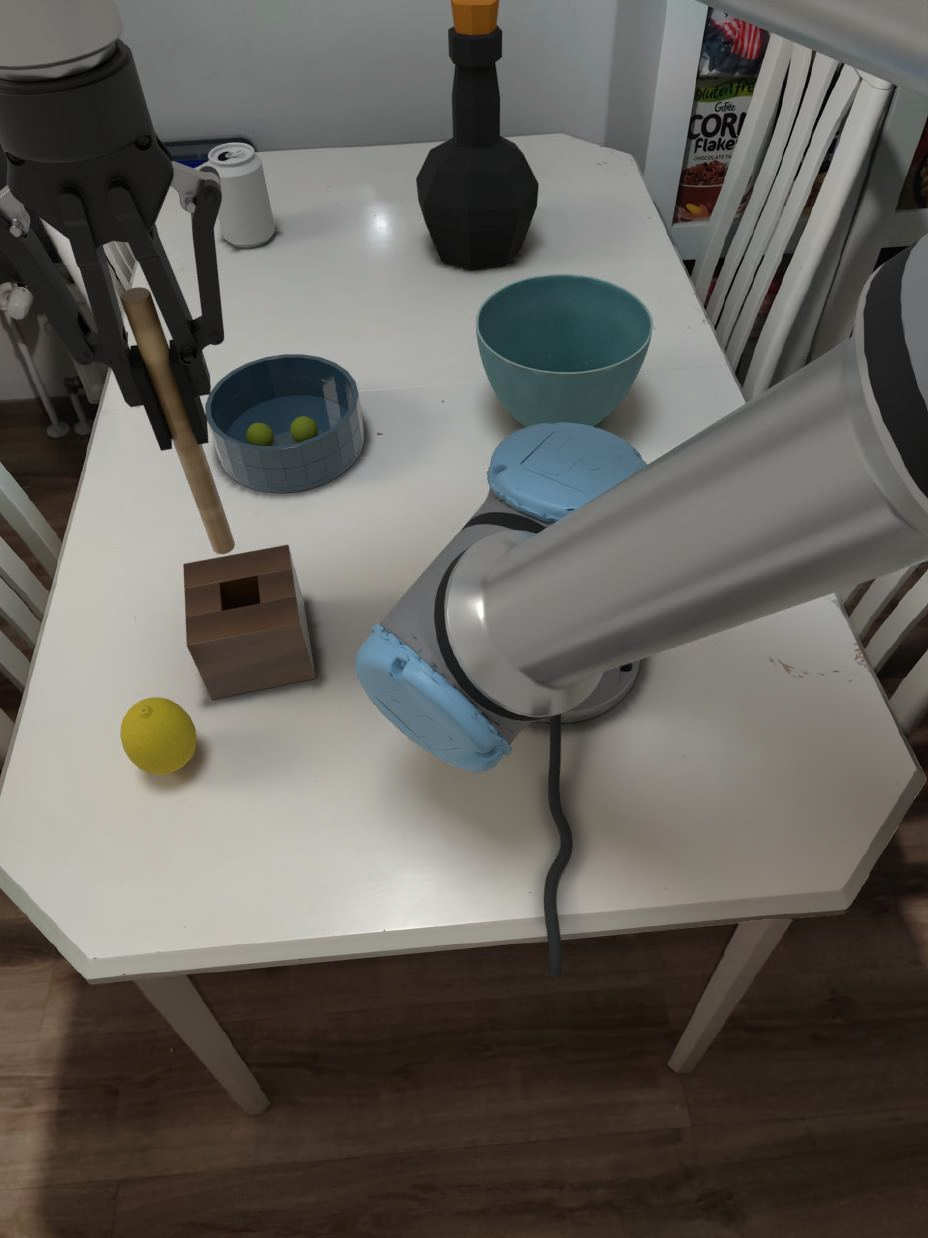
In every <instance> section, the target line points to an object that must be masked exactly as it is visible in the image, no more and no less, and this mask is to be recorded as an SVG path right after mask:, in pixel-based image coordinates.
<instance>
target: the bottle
mask: <svg viewBox="0 0 928 1238" xmlns="http://www.w3.org/2000/svg"><path fill="white" fill-rule="evenodd" d="M450 6H451V15H452V21H453V26H451V27H450V28H448V29H447V35H448V36H447V39H448V40H447V42H448V57H449V59H450V60H451V62H452V64H453V65H454V70H453V80H452V88H451V89H452V90H451V116H452V117H451V118H452V120H451V121H452V137H451V138H449V139H447V141H444V142H442V143H440V144H438V145H436V146H434V147H432V148H430V149H429V151H428V153H427V155H426V158H425V159H424V162H423V164H422V165H421V168H420V170H419V172H418V174H417V176H416V178H415V183H416V192H417V200H418V204H419V207H420V211H421V214H422V217H423V220H424V223H425V227H426V228H427V231H428V233H429V236H430V238H431V240H432V243H433V245H434V248H435V250H436V253H437V255H438V257H439V259H440V262H441V263H444V264H448V265H451V266H454V267H458V268H461V269H464V270H467V271H471V272H472V271H479V270H485V269H491V268H492V269H493V268H498V267H499V268H500V267H505V266H507V265H508V264H509V263H510V262H511V261H512V260H513V259H514V258H515V257H516V256H517V255H518V254H519V253H521V251H522V248H523V246H524V243H525V241H526V237H527V235H528V232H529V231H530V227H531V224H532V221H533V219H534V216H535V213H536V210H537V208H538V199H539V189H540V187H539V186H540V183H539V181H538V180H537V178H536V176H535V174H534V172H533V170H532V168H531V166H530V164H529V162H528V160H527V158H526V156H525V154H524V153H523V151H522V150H521V149H520V148H519V146H518V145H517V144H516V143H515V142H513V141H511V140H510V139H508V138H505V137H504V136H501V94H500V86H499V85H500V84H499V78H498V71H497V65H496V64H497V62H498V61H499V60H501V59H502V58H503V29H502V28H501V27H500V26H499V25H498V16H499V7H500V0H450Z"/></svg>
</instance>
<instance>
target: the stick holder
mask: <svg viewBox="0 0 928 1238" xmlns="http://www.w3.org/2000/svg"><path fill="white" fill-rule="evenodd" d="M182 569H183V570H182V571H183V591H184V612H185V613H184V614H185V636H186V637H185V639H186V641H185V642H186V647H187V650H188V652H189V654H190V656H191V658H192V660H193V663H194V665H195V667H196V669H197V671H198V673H199V675H200V677H201V680H202V682H203V685H204V686H205V688H206V690H207V692H208V695H209V697H210V699H211V700H218V699H222V698H226V697H227V698H228V697H232V696H237V695H243V694H247V693H252V692H256V691H257V692H258V691H261V690H262V691H263V690H266V689H272V688H276V687H280V686H287V685H291V684H295V683H300V682H301V683H302V682H306V681H311V680H316V672H315V665H314V660H313V659H314V658H313V652H312V646H311V645H312V644H311V640H310V639H311V638H310V633H309V627H308V620H307V614H306V613H307V612H306V607H305V601H304V598H303V593H302V590H301V586H300V582H299V579H298V575H297V571H296V568H295V563H294V560H293V556H292V552H291V549H290V545H289V544H284V545H278V546H272V547H267V548H262V549H257V550H251V551H245V552H240V553H234V554H230V555H225V556H218V557H213V558H208V559H207V558H206V559H201V560H196V561H191V562H186V563H183V564H182Z"/></svg>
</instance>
